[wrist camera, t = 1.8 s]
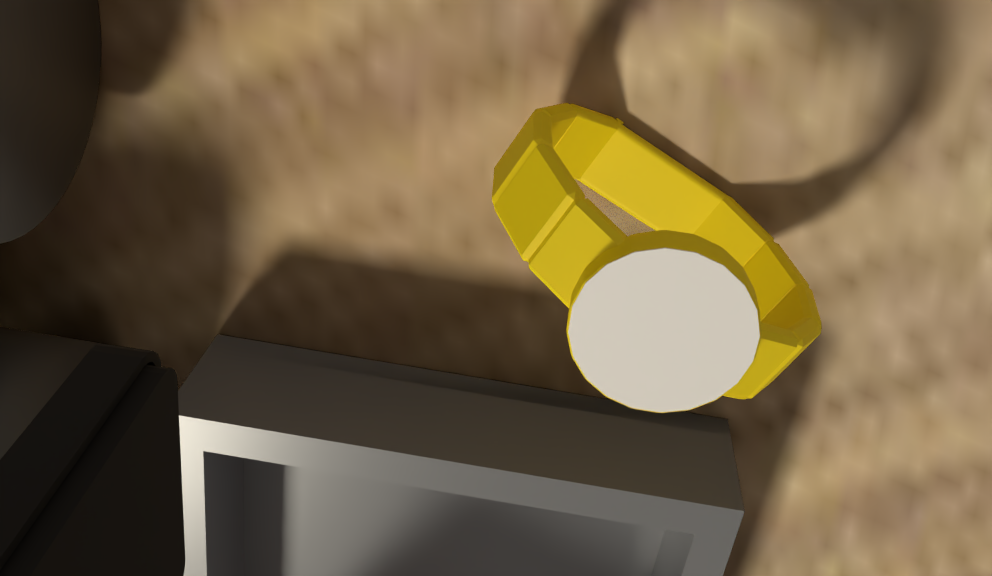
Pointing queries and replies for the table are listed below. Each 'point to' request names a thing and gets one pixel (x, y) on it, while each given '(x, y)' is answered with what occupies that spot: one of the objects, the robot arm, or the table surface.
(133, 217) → the table surface
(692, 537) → the tray
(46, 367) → the grey-green toy cart
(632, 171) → the watch
